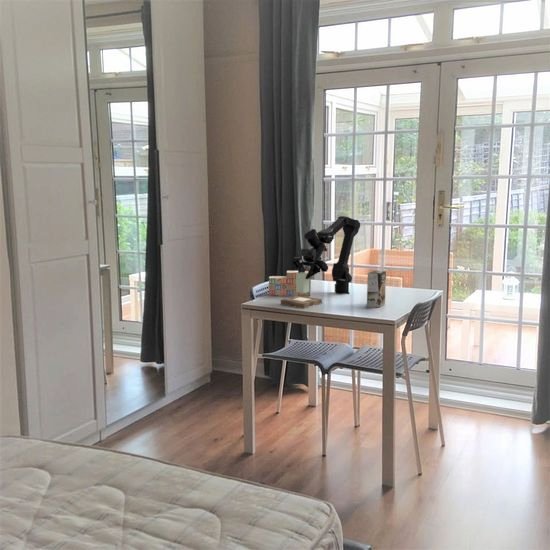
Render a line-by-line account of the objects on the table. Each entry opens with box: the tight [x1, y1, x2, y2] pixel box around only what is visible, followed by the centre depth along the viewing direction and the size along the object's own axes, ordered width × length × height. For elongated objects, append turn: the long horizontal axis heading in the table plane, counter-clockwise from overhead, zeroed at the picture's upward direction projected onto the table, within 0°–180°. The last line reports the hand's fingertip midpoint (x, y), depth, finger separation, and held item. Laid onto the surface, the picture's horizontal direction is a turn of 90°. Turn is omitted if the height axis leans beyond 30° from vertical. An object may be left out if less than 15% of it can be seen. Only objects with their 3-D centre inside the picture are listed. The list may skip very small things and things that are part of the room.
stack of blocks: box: [268, 270, 312, 297], centre depth 315 cm, size 21×6×12 cm, turn 87°
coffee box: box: [366, 270, 387, 309], centre depth 288 cm, size 9×6×16 cm
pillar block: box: [296, 272, 309, 293], centre depth 292 cm, size 4×4×9 cm
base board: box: [280, 296, 323, 309], centre depth 294 cm, size 14×14×2 cm
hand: (302, 278), depth 291 cm, fingers closed on pillar block, 4 cm apart
